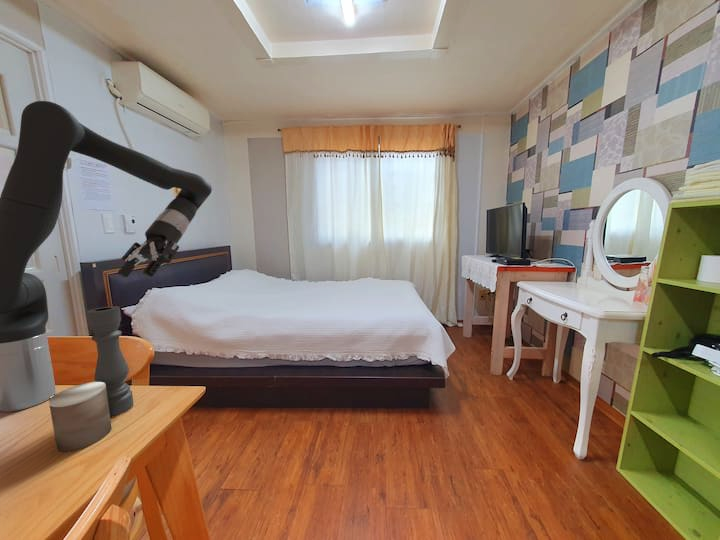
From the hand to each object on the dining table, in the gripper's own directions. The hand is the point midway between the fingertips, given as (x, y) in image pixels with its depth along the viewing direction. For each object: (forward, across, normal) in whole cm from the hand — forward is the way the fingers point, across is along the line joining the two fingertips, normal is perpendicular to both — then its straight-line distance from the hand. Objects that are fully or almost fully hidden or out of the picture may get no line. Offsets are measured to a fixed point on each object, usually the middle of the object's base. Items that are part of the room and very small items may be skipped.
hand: (134, 275), depth 68 cm
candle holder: (+29, -1, +16) cm, 33 cm away
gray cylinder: (+34, +2, +10) cm, 36 cm away
